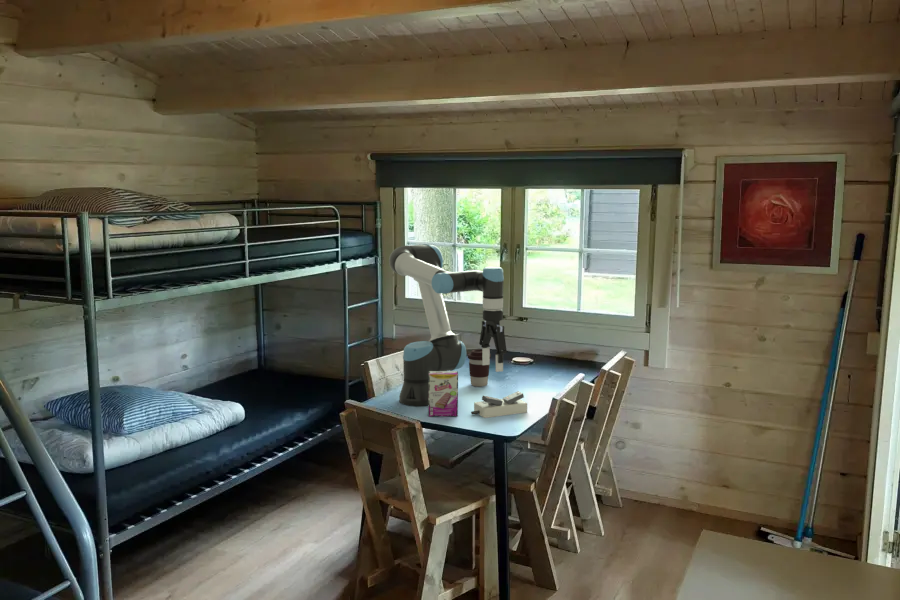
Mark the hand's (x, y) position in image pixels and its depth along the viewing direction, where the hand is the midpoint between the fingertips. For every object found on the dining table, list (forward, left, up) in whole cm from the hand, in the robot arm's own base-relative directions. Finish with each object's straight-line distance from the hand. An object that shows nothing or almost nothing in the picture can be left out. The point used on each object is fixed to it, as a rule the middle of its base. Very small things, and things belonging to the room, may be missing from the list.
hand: (492, 368), depth 272 cm
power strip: (+3, +2, -18) cm, 18 cm away
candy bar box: (-17, +7, -18) cm, 26 cm away
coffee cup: (+14, +41, -18) cm, 47 cm away
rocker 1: (0, 0, -12) cm, 12 cm away
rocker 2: (+9, 0, -12) cm, 15 cm away
